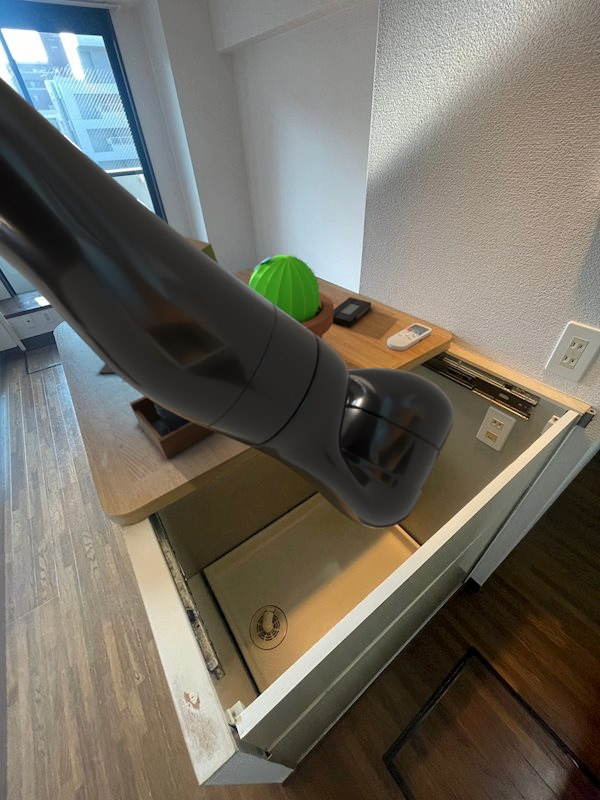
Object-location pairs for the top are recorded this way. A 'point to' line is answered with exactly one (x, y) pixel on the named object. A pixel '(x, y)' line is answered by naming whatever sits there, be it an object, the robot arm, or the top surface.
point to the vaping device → (170, 419)
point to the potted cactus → (294, 291)
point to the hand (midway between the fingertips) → (173, 349)
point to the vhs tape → (350, 311)
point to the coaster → (106, 370)
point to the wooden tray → (173, 440)
